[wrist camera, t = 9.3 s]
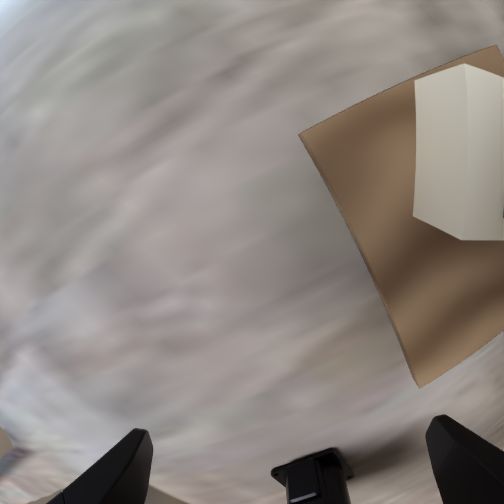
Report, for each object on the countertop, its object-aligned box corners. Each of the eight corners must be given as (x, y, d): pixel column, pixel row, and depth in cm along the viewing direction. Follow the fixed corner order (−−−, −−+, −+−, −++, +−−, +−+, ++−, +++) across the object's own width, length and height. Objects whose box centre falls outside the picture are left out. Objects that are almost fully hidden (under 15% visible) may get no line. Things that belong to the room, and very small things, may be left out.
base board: (546, 275, 19) (556, 282, 18) (412, 377, 22) (419, 388, 21) (484, 48, 14) (496, 44, 13) (297, 134, 17) (301, 132, 15)
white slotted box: (488, 99, 14) (543, 94, 9) (484, 219, 17) (537, 241, 12) (414, 80, 14) (466, 62, 9) (412, 216, 17) (463, 241, 12)
